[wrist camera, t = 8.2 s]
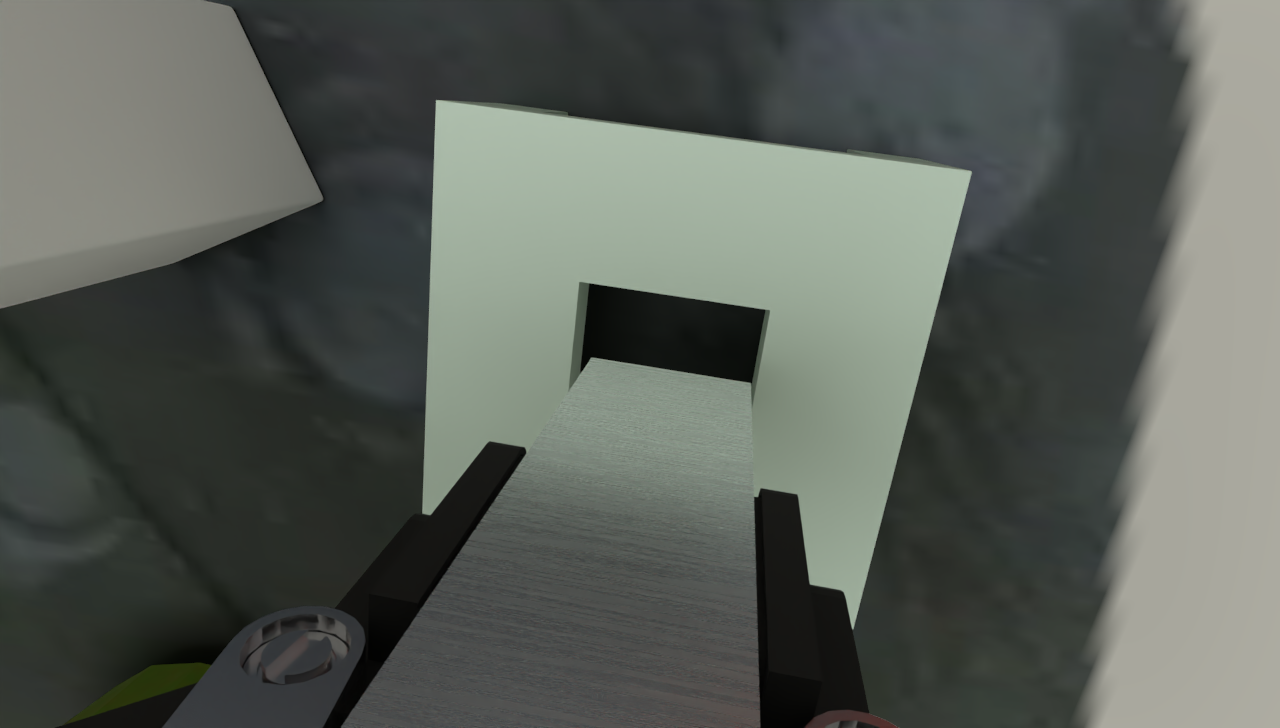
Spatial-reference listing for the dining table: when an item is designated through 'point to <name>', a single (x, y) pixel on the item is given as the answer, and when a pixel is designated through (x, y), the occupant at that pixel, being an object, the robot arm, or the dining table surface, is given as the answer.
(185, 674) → the apple
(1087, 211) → the dining table surface
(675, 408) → the long pin
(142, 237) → the milk
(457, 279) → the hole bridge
